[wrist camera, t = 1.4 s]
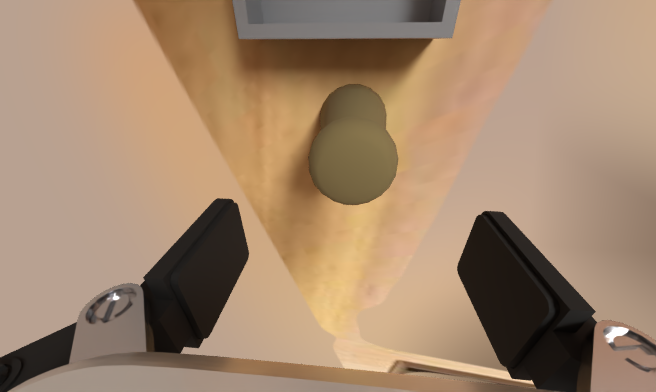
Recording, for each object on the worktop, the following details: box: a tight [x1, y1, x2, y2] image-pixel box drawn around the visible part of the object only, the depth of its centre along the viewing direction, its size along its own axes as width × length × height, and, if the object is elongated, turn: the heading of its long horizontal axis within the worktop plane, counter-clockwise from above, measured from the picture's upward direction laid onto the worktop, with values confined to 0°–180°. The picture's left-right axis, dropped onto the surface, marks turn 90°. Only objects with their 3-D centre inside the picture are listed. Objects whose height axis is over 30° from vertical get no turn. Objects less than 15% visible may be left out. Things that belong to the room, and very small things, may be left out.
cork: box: [308, 84, 398, 205], centre depth 17 cm, size 6×6×11 cm
